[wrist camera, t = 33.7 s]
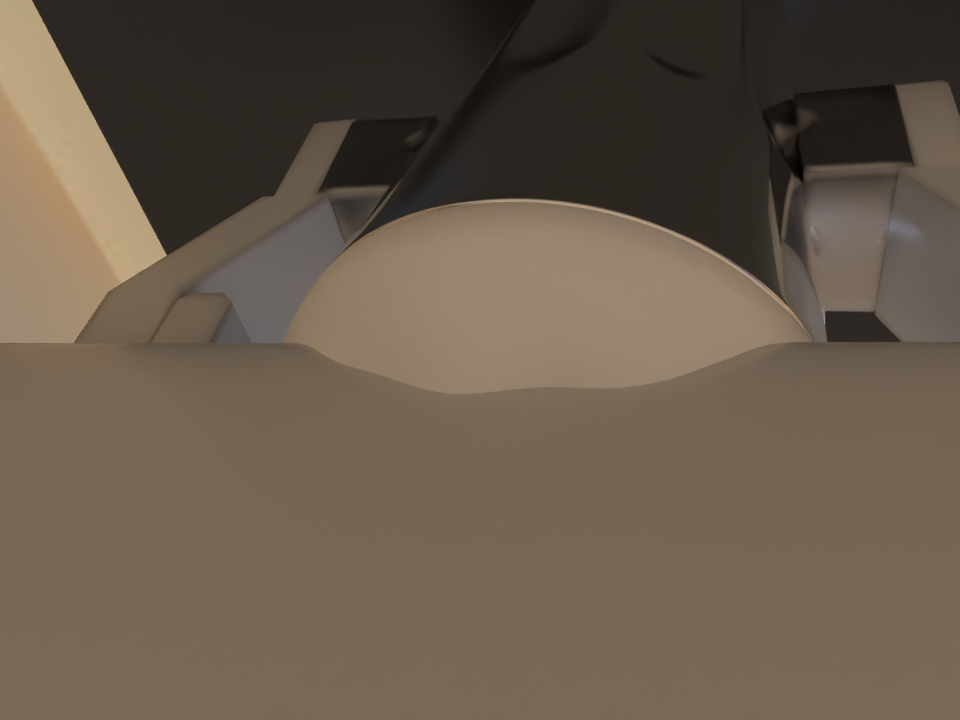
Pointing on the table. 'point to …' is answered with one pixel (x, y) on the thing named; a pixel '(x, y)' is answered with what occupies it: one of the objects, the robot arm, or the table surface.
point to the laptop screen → (378, 82)
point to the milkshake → (589, 211)
